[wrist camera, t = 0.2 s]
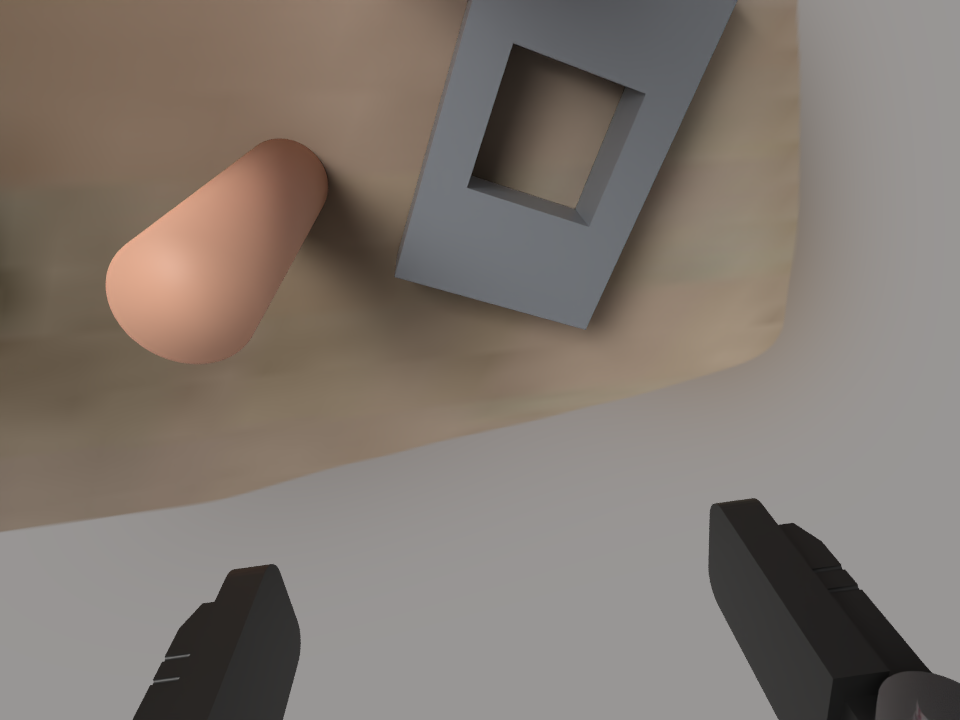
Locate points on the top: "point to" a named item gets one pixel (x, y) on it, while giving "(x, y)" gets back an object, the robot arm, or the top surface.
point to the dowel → (218, 256)
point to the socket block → (613, 178)
